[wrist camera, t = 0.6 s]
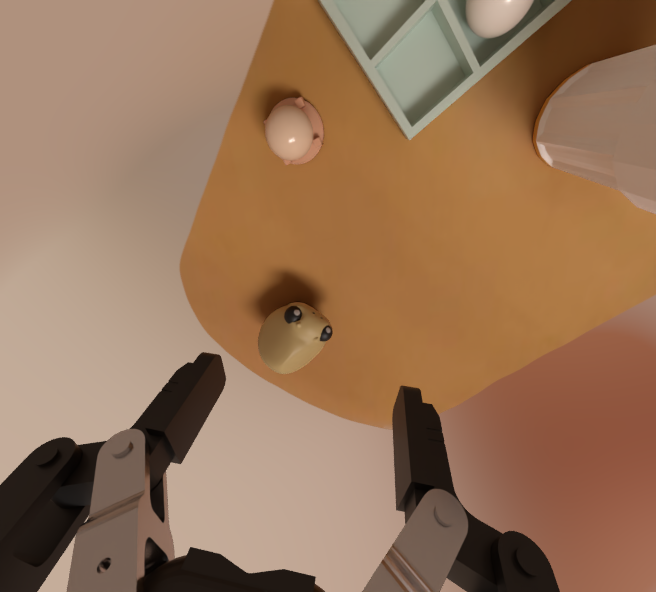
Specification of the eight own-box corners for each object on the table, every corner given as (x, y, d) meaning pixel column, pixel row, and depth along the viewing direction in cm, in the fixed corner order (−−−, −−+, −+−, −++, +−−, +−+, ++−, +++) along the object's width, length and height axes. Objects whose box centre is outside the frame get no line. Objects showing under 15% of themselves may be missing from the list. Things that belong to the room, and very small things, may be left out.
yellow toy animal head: (348, 308, 44) (342, 357, 35) (306, 348, 50) (293, 398, 41) (297, 273, 41) (277, 316, 33) (260, 319, 47) (235, 366, 39)
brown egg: (303, 95, 29) (292, 92, 24) (324, 144, 31) (317, 148, 27) (264, 120, 30) (248, 121, 26) (287, 165, 33) (275, 172, 28)
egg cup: (306, 84, 29) (303, 83, 27) (333, 147, 31) (331, 148, 30) (258, 117, 31) (253, 117, 29) (287, 173, 34) (283, 175, 32)
